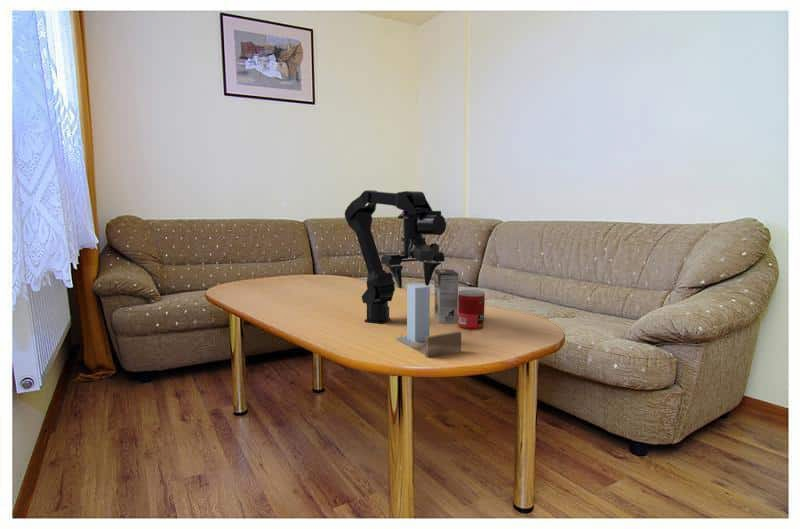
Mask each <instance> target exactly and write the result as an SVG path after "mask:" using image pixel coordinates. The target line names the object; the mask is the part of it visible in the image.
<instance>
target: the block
mask: <svg viewBox="0 0 800 529" xmlns="http://www.w3.org/2000/svg"><path fill="white" fill-rule="evenodd" d="M406 288H407V289H406V292H407V293H406V296H407V297H406V304H407V305H406V336H407V339H409V340H410V341H412V342H424V341H425V337H426V336H430V327H431V326H430V324H431V322H430V320H431V318H430V315H431V314H430V310H431V309H430V300H431V296H430V295H431V292H430V291H431V290H430V289H431V288H430V285H428V286H426V284H421V283H419V284H409V285H406Z"/></svg>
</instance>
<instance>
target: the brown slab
mask: <svg viewBox="0 0 800 529" xmlns="http://www.w3.org/2000/svg"><path fill="white" fill-rule="evenodd" d="M411 348H412V349H413V350H416V351H418V352H419V353H421V354H423V355H425V357H426V358H433V357H438V356H444V355H445V356H446V355H449V354H455V353H461V352H462V332H461V331H453V332H447V333H440V334H439V333H438V334H435V335H429V336H426V337H425V346H424V345H422V344H420V343H418V342H412V347H411Z"/></svg>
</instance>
